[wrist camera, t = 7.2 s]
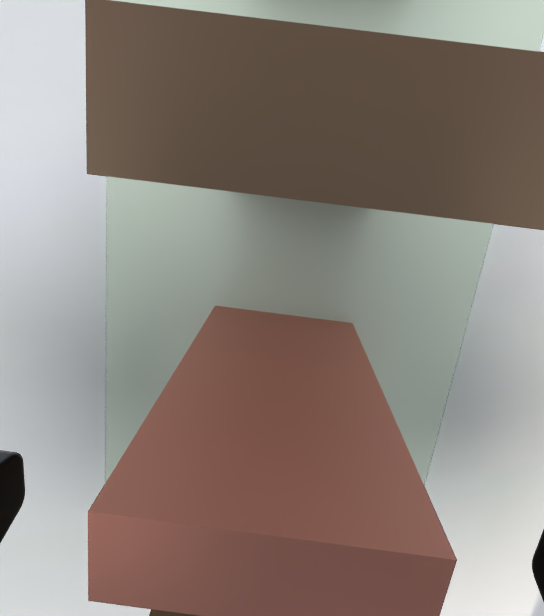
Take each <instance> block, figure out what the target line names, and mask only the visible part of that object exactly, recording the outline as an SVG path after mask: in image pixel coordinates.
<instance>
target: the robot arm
mask: <svg viewBox="0 0 544 616" xmlns="http://www.w3.org/2000/svg"><path fill="white" fill-rule="evenodd" d="M24 496H25V483H24V466H23V458H22V456H21V455H20V454H19V453H17V452H10V451H2V450H0V543H1V541H2V539H3V538H4V536H5V534H6V532H7V531H8V529H9V527H10V525H11V524H12V522H13V520H14V519H15V517H16V515H17V513H18V512H19V510H20V508H21V506H22V503H23V500H24ZM532 570H533V574H534V578H535V580H536V583H537V586H538V588H539V591H540V594H541V596H542V599H543V601H544V530H543V532H542V535H541V538H540V540H539V543H538V546H537V548H536V551H535V554H534V556H533V560H532Z"/></svg>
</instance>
